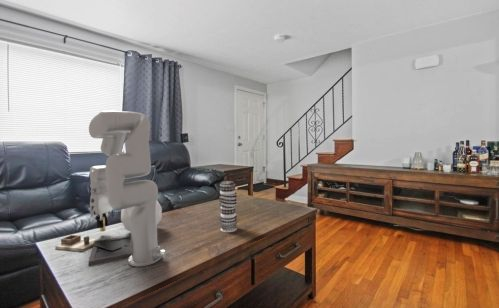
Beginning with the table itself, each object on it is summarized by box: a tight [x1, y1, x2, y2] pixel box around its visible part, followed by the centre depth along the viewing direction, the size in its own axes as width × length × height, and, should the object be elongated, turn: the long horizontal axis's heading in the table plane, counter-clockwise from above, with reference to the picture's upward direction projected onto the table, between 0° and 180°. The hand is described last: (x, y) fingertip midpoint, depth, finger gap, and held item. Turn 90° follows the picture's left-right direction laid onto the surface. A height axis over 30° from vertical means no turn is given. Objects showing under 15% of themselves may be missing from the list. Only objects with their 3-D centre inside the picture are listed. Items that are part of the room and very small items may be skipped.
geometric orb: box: [120, 200, 163, 232], centre depth 129 cm, size 19×20×20 cm
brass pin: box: [99, 216, 107, 233], centre depth 126 cm, size 2×2×7 cm
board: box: [54, 234, 102, 253], centre depth 114 cm, size 15×10×4 cm
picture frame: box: [88, 235, 132, 266], centre depth 109 cm, size 16×2×21 cm
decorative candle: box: [218, 180, 238, 233], centre depth 130 cm, size 9×9×25 cm
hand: (102, 226), depth 126 cm, fingers closed on brass pin, 2 cm apart
